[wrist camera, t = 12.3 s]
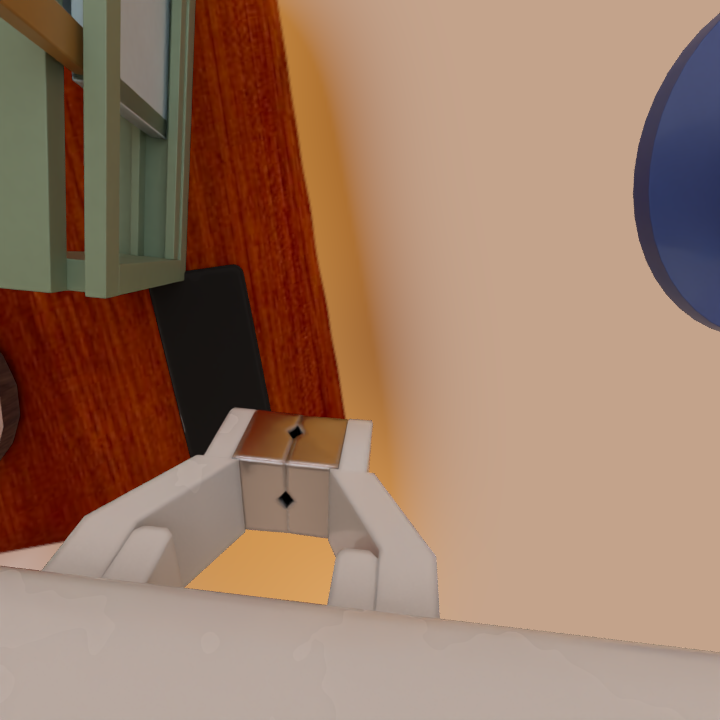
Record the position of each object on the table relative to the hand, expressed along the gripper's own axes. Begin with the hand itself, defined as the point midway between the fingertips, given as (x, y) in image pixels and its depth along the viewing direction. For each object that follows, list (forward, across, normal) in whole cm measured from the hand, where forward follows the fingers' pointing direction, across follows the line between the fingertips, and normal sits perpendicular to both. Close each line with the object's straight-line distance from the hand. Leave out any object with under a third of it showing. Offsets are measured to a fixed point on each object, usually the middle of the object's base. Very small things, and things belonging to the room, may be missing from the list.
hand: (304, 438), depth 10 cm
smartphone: (+23, +12, +12) cm, 29 cm away
